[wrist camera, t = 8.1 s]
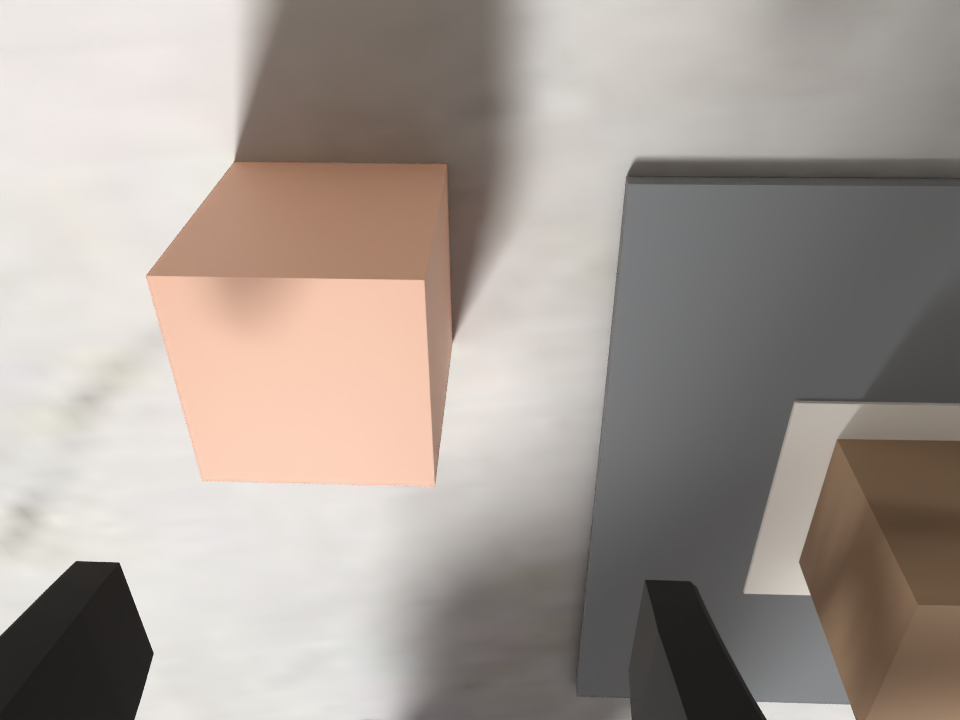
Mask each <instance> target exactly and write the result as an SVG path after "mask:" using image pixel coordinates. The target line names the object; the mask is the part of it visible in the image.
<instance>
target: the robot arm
mask: <svg viewBox="0 0 960 720" xmlns="http://www.w3.org/2000/svg"><path fill="white" fill-rule="evenodd" d="M153 654H154V653H153V650H152V648H151V645H150V642H149V640H148V637H147V635H146V632H145V629H144V627H143V624H142V621H141V619H140V616H139V613H138V611H137V608H136V605H135V603H134V600H133V597H132V595H131V592H130V589H129V587H128V584H127V582H126V579H125V576H124V574H123V571H122V568H121V566H120V563H116V562H85V561H76V562H75V563H74V564H73V565H72V566H70V567H69V568H68V569H67V570H66V571H65V572H64V573H63V574H62V575H61V576H60V577H59V578H58V579H57V580H56V581H55V582H54V583H53V584H52V585H51V586H50V587H49V588H48V589H47V590H46V591H45V592H44V593H43V594H42V595H41V596H40V597H39V598H38V599H37V600H36V601H35V602H34V603H33V604H32V605H31V606H30V607H29V608H28V609H27V610H26V611H25V612H24V613H23V614H22V615H21V616H20V617H19V618H18V619H17V620H16V621H15V622H14V623H13V624H12V625H11V626H10V627H9V628H8V629H7V630H6V631H5V632H4V633H3V634H2V635H1V636H0V720H134V719H135V716H136V713H137V709H138V706H139V703H140V700H141V696H142V693H143V690H144V686H145V682H146V679H147V675H148V672H149V668H150V665H151V661H152V657H153ZM628 672H629V686H630V700H631V714H632V720H766V718H765V716H764V715H763V713H762V711H761V710H760V708H759V706H758V705H757V703H756V701H755V699H754V698H753V696H752V694H751V692H750V691H749V689H748V687H747V685H746V684H745V682H744V680H743V678H742V676H741V674H740V673H739V671H738V669H737V667H736V665H735V663H734V661H733V660H732V658H731V656H730V654H729V652H728V650H727V648H726V646H725V645H724V643H723V641H722V639H721V637H720V635H719V633H718V631H717V629H716V627H715V625H714V623H713V621H712V619H711V617H710V614H709V612H708V610H707V608H706V606H705V604H704V602H703V600H702V597H701V595H700V593H699V591H698V588H697V587H696V586H695V585H694V584H693V583H692V582H691V581H670V580H645V581H644V587H643V592H642V598H641V603H640V609H639V615H638V620H637V626H636V631H635V637H634V642H633V648H632V653H631V659H630V664H629V670H628Z"/></svg>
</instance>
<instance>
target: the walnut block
mask: <svg viewBox="0 0 960 720" xmlns="http://www.w3.org/2000/svg"><path fill="white" fill-rule="evenodd" d="M799 564H800V567H801V570H802V573H803V575H804V578H805V581H806V584H807V586H808V589H809V592H810V595H811V597H812V600H813V603H814V606H815V608H816V611H817V614H818V617H819V619H820V622H821V625H822V628H823V630H824V633H825V636H826V639H827V641H828V644H829V647H830V650H831V652H832V655H833V658H834V661H835V663H836V666H837V669H838V672H839V674H840V677H841V680H842V683H843V685H844V688H845V691H846V694H847V696H848V699H849V702H850V705H851V707H852V710H853V713H854V716H855V718H856V720H960V441H938V440H865V439H837V440H836V444H835V447H834V450H833V453H832V456H831V460H830V463H829V466H828V469H827V473H826V476H825V479H824V482H823V485H822V489H821V492H820V495H819V498H818V502H817V505H816V508H815V511H814V514H813V518H812V521H811V524H810V527H809V531H808V534H807V537H806V540H805V543H804V547H803V550H802V553H801V556H800V560H799Z"/></svg>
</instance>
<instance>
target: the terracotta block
mask: <svg viewBox="0 0 960 720" xmlns="http://www.w3.org/2000/svg"><path fill="white" fill-rule="evenodd" d="M146 278H147V282H148V285H149V289H150V293H151V296H152V300H153V304H154V307H155V311H156V315H157V318H158V322H159V325H160V329H161V333H162V336H163V340H164V344H165V347H166V351H167V355H168V358H169V362H170V365H171V369H172V373H173V376H174V380H175V384H176V387H177V391H178V395H179V398H180V402H181V406H182V409H183V413H184V416H185V420H186V424H187V427H188V431H189V435H190V438H191V442H192V446H193V449H194V453H195V456H196V460H197V464H198V467H199V471H200V475H201V478H202V481H225V482H267V483H308V484H349V485H390V486H431V487H435V481H436V473H437V465H438V457H439V448H440V440H441V432H442V424H443V416H444V408H445V399H446V391H447V383H448V375H449V367H450V359H451V350H452V311H451V278H450V245H449V212H448V178H447V164H423V163H317V162H234V163H233V164H232V165H231V166H230V168H229V169H228V170H227V172H226V173H225V174H224V176H223V177H222V178H221V179H220V181H219V182H218V183H217V185H216V186H215V187H214V188H213V190H212V191H211V192H210V194H209V195H208V196H207V198H206V199H205V200H204V201H203V203H202V204H201V205H200V207H199V208H198V209H197V210H196V212H195V213H194V214H193V216H192V217H191V218H190V220H189V221H188V222H187V223H186V225H185V226H184V227H183V229H182V230H181V231H180V232H179V234H178V235H177V236H176V238H175V239H174V240H173V242H172V243H171V244H170V245H169V247H168V248H167V249H166V251H165V252H164V253H163V254H162V256H161V257H160V258H159V260H158V261H157V262H156V264H155V265H154V266H153V267H152V269H151V270H150V271H149V273H148V274H147V275H146Z"/></svg>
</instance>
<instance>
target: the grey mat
mask: <svg viewBox="0 0 960 720" xmlns="http://www.w3.org/2000/svg"><path fill="white" fill-rule="evenodd" d="M837 439H865V440H938V441H960V179H921V178H758V177H626V185H625V195H624V205H623V215H622V225H621V236H620V246H619V256H618V266H617V276H616V286H615V296H614V306H613V316H612V326H611V337H610V347H609V357H608V367H607V377H606V387H605V397H604V407H603V417H602V427H601V438H600V448H599V458H598V468H597V478H596V488H595V498H594V508H593V518H592V528H591V539H590V549H589V559H588V569H587V579H586V589H585V599H584V609H583V619H582V629H581V640H580V650H579V660H578V670H577V680H576V694H577V696H584V697H618V698H630V686H629V672H628V670H629V664H630V659H631V653H632V648H633V642H634V637H635V631H636V626H637V620H638V615H639V609H640V603H641V598H642V592H643V587H644V581H645V580H670V581H691V582H692V583H693V584H694V585H695V586H696V587H697V588H698V591H699V593H700V595H701V597H702V600H703V602H704V604H705V606H706V608H707V610H708V612H709V614H710V617H711V619H712V621H713V623H714V625H715V627H716V629H717V631H718V633H719V635H720V637H721V639H722V641H723V643H724V645H725V646H726V648H727V650H728V652H729V654H730V656H731V658H732V660H733V661H734V663H735V665H736V667H737V669H738V671H739V673H740V674H741V676H742V678H743V680H744V682H745V684H746V685H747V687H748V689H749V691H750V692H751V694H752V696H753V698H754V699H755V701H756V702H784V703H818V704H850V702H849V699H848V696H847V694H846V691H845V688H844V685H843V683H842V680H841V677H840V674H839V672H838V669H837V666H836V663H835V661H834V658H833V655H832V652H831V650H830V647H829V644H828V641H827V639H826V636H825V633H824V630H823V628H822V625H821V622H820V619H819V617H818V614H817V611H816V608H815V606H814V603H813V600H812V597H811V595H810V592H809V589H808V586H807V584H806V581H805V578H804V575H803V573H802V570H801V567H800V564H799V560H800V556H801V553H802V550H803V547H804V543H805V540H806V537H807V534H808V531H809V527H810V524H811V521H812V518H813V514H814V511H815V508H816V505H817V502H818V498H819V495H820V492H821V489H822V485H823V482H824V479H825V476H826V473H827V469H828V466H829V463H830V460H831V456H832V453H833V450H834V447H835V444H836V440H837Z"/></svg>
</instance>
